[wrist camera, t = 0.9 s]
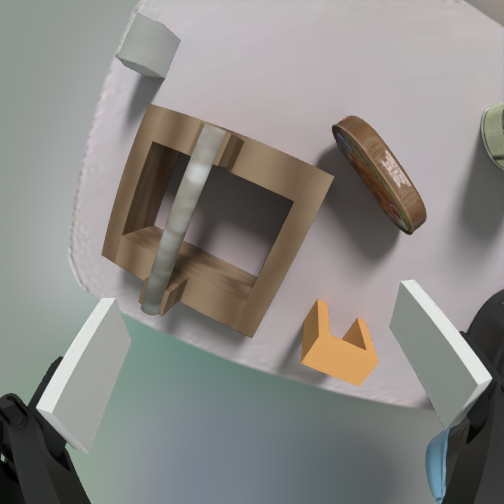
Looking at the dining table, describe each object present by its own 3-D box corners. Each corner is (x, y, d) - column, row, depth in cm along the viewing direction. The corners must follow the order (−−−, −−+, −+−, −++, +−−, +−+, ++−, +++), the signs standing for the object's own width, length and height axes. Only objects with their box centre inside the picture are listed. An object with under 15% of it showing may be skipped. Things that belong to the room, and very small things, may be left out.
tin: (327, 133, 33) (332, 120, 25) (346, 120, 32) (356, 103, 24) (395, 230, 34) (417, 244, 26) (413, 216, 33) (439, 226, 25)
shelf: (328, 177, 34) (341, 175, 21) (262, 309, 40) (240, 368, 27) (178, 115, 36) (118, 91, 22) (133, 241, 42) (71, 267, 28)
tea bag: (180, 40, 33) (148, 11, 23) (165, 78, 35) (127, 56, 25) (160, 39, 33) (126, 13, 23) (145, 76, 35) (106, 56, 25)
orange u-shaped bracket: (365, 321, 38) (378, 362, 28) (351, 343, 39) (359, 386, 29) (317, 299, 38) (318, 336, 29) (303, 322, 39) (300, 362, 30)
